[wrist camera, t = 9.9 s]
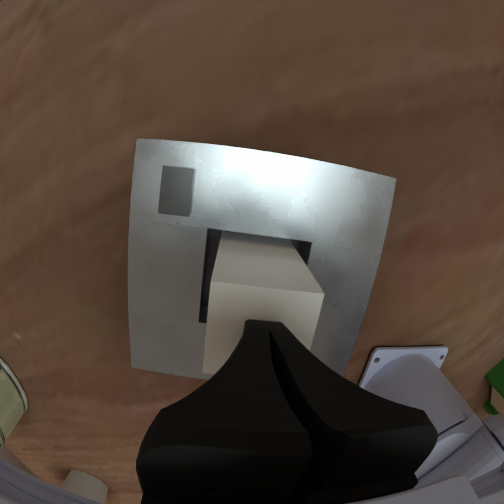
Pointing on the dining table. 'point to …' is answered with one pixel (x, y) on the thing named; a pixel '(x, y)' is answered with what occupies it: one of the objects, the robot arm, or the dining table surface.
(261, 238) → the plug
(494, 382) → the hardback book
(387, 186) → the socket
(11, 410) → the coffee can
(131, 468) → the dining table surface
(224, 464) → the robot arm
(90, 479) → the dixie cup
